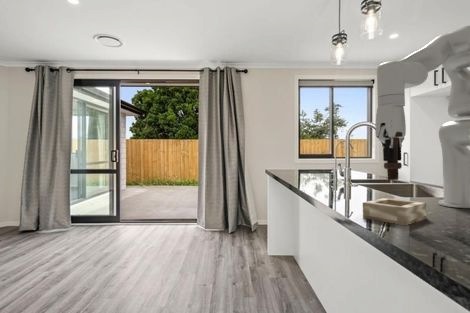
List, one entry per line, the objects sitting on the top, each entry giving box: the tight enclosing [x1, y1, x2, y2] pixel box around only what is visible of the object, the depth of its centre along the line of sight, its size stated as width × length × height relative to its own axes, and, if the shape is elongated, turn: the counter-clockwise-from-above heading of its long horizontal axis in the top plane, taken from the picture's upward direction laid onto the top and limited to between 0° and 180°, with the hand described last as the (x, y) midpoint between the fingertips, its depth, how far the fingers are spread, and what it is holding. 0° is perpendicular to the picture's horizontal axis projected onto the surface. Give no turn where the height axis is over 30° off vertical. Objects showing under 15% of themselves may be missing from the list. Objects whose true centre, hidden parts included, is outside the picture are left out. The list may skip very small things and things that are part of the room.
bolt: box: [383, 132, 403, 181], centre depth 89 cm, size 6×5×15 cm
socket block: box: [362, 197, 428, 227], centre depth 90 cm, size 13×13×5 cm
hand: (392, 160), depth 89 cm, fingers closed on bolt, 3 cm apart
